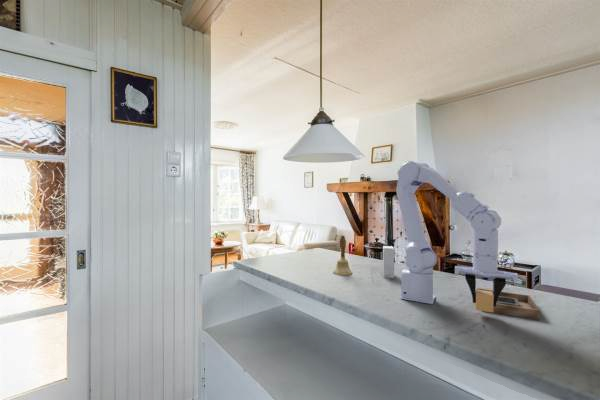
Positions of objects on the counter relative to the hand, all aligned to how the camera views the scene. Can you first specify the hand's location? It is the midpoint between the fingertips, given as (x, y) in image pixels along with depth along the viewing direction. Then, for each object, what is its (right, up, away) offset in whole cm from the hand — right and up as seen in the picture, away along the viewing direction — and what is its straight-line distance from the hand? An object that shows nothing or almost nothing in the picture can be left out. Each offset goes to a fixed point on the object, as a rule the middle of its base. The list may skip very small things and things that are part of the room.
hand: (483, 303), depth 80 cm
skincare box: (-14, -3, +40) cm, 43 cm away
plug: (0, -1, 0) cm, 1 cm away
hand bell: (-32, -3, +44) cm, 55 cm away
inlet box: (+11, -4, +8) cm, 14 cm away
